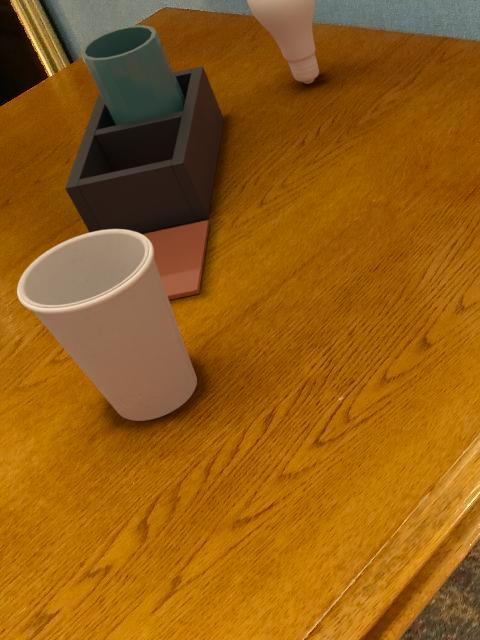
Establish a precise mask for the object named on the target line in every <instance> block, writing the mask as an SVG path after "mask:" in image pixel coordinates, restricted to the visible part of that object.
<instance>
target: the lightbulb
mask: <svg viewBox="0 0 480 640" xmlns="http://www.w3.org/2000/svg"><path fill="white" fill-rule="evenodd" d="M246 2H247V5H248V8H249V10H250V12H251V13H252V15H253V16H254V18H255V19H256V20H257V22H258V23H259V24H260V25H261V26H262V27H263V28H264V29H265V30H266V31H267V32H268V33H269V34H270V36H271V37H272V38H273V39H274V41H275V42H276V44H277V46H278V48H279V49H280V52H281V54H282V56H283V58H284V59H285V60H286V61H287V63H288V66H289V69H290V71H291V75H292V76H293V78H294V80H296V81H297V82H300V83H304V84H305V85H309V84H312V83H313V82H315V79H316V78H317V77H319V74H320V69H319V63H318V61H317V57H316V53H315V52H316V50H317V49H316V45H315V41H314V34H313V20H314V16H315V9H316V0H246Z"/></svg>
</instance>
